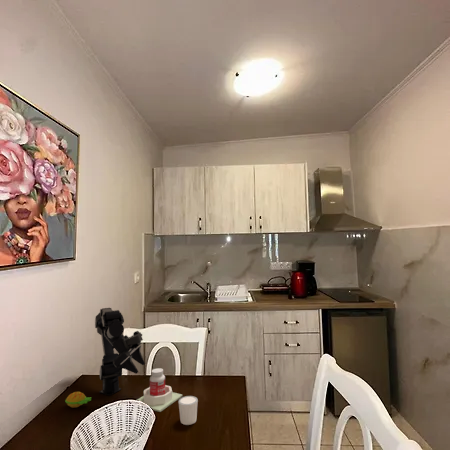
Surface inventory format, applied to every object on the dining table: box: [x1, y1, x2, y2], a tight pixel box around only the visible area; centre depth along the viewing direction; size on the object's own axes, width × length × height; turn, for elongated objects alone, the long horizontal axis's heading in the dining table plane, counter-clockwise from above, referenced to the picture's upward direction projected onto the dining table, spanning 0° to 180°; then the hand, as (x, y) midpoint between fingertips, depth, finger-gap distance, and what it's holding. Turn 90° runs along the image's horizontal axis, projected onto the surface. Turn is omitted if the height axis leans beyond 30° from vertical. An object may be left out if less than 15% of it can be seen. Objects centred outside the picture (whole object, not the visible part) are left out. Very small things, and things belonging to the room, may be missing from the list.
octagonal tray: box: [136, 384, 183, 413], centre depth 128 cm, size 14×14×4 cm
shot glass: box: [178, 395, 199, 426], centre depth 113 cm, size 7×7×7 cm
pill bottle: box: [149, 367, 166, 396], centre depth 129 cm, size 6×6×11 cm
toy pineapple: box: [64, 391, 92, 409], centre depth 125 cm, size 7×10×5 cm
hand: (140, 368), depth 131 cm, fingers open, 9 cm apart
